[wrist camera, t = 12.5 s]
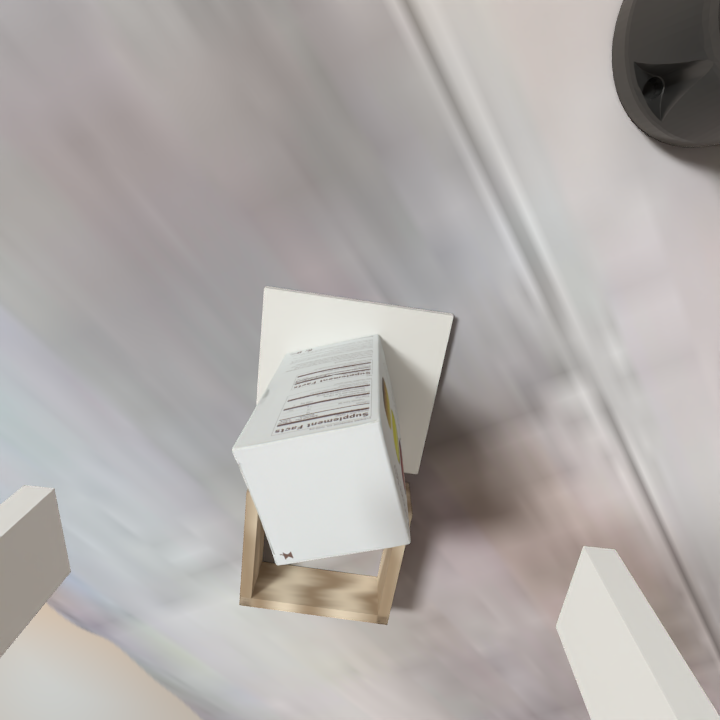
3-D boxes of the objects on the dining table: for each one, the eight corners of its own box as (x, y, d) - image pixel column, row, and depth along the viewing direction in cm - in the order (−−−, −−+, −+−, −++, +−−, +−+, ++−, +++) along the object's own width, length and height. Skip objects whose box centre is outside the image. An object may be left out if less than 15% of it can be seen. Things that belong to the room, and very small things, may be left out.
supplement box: (401, 421, 44) (415, 550, 28) (310, 439, 45) (276, 573, 29) (379, 329, 41) (381, 419, 25) (282, 351, 42) (226, 450, 26)
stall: (408, 483, 48) (412, 515, 43) (386, 586, 53) (387, 624, 48) (259, 461, 47) (246, 492, 43) (251, 568, 52) (239, 605, 48)
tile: (452, 313, 41) (453, 315, 40) (417, 469, 47) (417, 474, 46) (266, 285, 40) (264, 287, 40) (255, 447, 47) (253, 451, 46)
